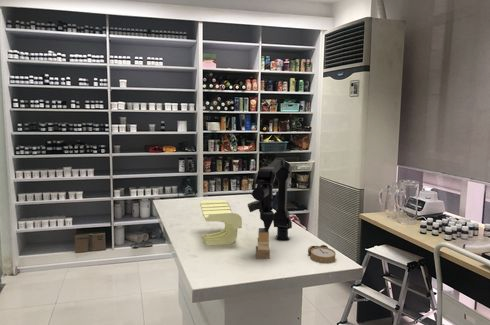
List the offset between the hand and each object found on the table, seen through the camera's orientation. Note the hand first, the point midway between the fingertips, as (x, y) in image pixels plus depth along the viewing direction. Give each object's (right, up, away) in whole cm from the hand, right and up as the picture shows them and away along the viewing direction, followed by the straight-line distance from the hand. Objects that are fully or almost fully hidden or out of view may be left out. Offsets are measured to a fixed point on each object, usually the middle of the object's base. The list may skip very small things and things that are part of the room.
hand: (265, 228), depth 180 cm
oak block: (-1, -9, -1) cm, 9 cm away
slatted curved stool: (-23, -10, +22) cm, 33 cm away
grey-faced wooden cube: (-1, -5, -1) cm, 5 cm away
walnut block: (-1, -13, 0) cm, 13 cm away
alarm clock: (+25, -14, -1) cm, 29 cm away
